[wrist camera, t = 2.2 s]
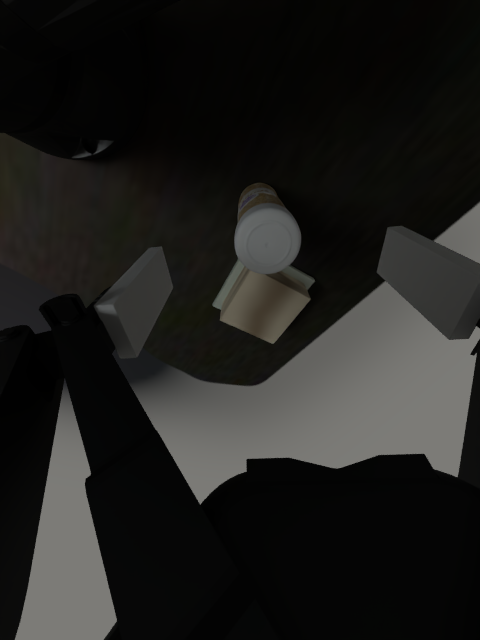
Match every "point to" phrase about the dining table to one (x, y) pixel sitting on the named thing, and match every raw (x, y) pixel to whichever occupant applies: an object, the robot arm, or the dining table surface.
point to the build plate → (237, 270)
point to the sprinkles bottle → (265, 231)
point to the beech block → (264, 303)
